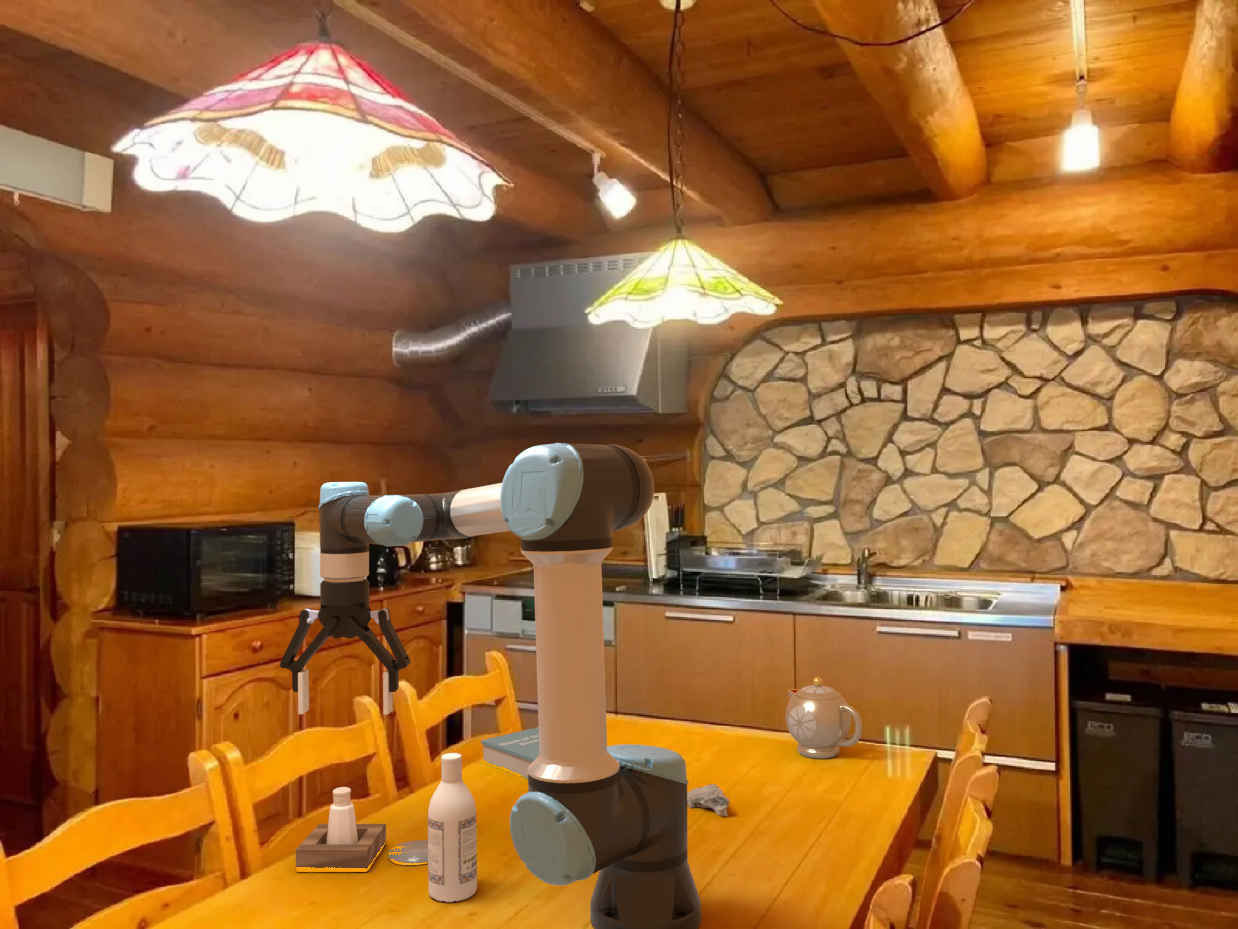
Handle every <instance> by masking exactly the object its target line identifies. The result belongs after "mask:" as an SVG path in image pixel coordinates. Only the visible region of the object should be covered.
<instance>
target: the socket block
mask: <svg viewBox="0 0 1238 929" xmlns="http://www.w3.org/2000/svg"><path fill="white" fill-rule="evenodd" d="M356 828H357V837H358V843H357V844H327V834H328V823H318V824H317V826H316V827H315V828H314V829H313V830H312V831H311V832H310V833H309V834H308V835H307V837H306V838H305V839H304V840H303V841H302V842H301V844H299V846H298V847H297V848H296V849H295V868H296V867H311V868H312V867H313V868H314V867H315V868H325V867H328V868H329V867H330V868H331V867H333V868H334V867H335V868H339V867H340V868H366V869H367V868H368V866H369V865H370V864H371V863H372V861H373V859H374V858H375V857H376V855H377V853H378V852H379V851H380V849H381V847H382V846H383V845H384V843H385V841H386V842H387V824H386V823H356Z"/></svg>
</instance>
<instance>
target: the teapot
mask: <svg viewBox="0 0 1238 929" xmlns="http://www.w3.org/2000/svg"><path fill="white" fill-rule="evenodd" d="M823 682H824V681H823V678H821V677H820V676H814V677H813V679H812V683H813V684H810V685H806V686H804V687H802V688H799V689H796V688H792V689H791V688H789V689H787V694H788V697H789V701H788V702H787V704H786V705H787V706H786V709H785V723H786V727H787V730H788V732H789V733H790V736H791V737H792V738H793V739H794V740H795V741H796V742H797V744H798V745H797V747H796V749H797V752H798V753H799V754H800V755H802V756H803V757H807V758H810V759H818V760H819V759H820V760H823V759H831V758H835V757H837V756H838V755H839V754H840V752H841V750H840V749H841V748H840V747H842V748H850V747H853V746H855V745H856V744H857V743H858V742H859V740H860V738H861V737H862V733H863V722H862V717H861V716H860V714H859V712H858V711H857V709H856V708H854V707H853V706H851V705H849V704H848V702H847V701H846V699H845V698H844V696H842V695H841V693H840V692H838V691H837V690H835V689H834V688H832V687H830V686H827V685H823ZM852 718H853V720H854V726H855V727H854V733H853V734H852V736H851V737H850V738H847V739H846V737H847V735H849V734H848V733H849V731H850V727H851V722H852Z"/></svg>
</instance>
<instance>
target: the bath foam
mask: <svg viewBox="0 0 1238 929" xmlns="http://www.w3.org/2000/svg"><path fill="white" fill-rule="evenodd" d="M462 756H463V755H462V754H460V753H458V752H449V753H445V754H442V755H441V758H440V760H441V761H440V762H441V765H440V766H441V768H440V769H441V781H440V782H439V784H438V785H437V787H436V789H435V791H434V792H433V794H432V796H431V798H430V802H429V805H428V809H427V811H428V812H427V840H428V864H427V866H428V867H427V868H428V870H427V871H428V872H427V873H428V876H427V878H428V894H429V896H430V897H431V898H432V899H433V898H434V899H433V900H435V899H436V900H435V901H437V902H438V901H439V902H442V901H445V902H444V903H454V901H456V902H460V901H464V900H467V899H469V898H471V897H472V896H474V894H475V893H476V891H477V889H478V879H477V878H478V864H477V863H478V860H477V859H478V858H477V857H478V854H477V850H478V847H477V846H478V844H477V842H478V841H477V836H478V835H477V809H476V801H475V798H474V796H473V794H472V793H471V791H470V789H469V788H468V786H467V785H466V784H465V782H464V781H463V779H462V778H463V777H462V776H463V773H462V772H463V765H462V764H463V762H462V761H463V760H462V759H463V757H462Z"/></svg>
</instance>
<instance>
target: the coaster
mask: <svg viewBox="0 0 1238 929" xmlns="http://www.w3.org/2000/svg"><path fill="white" fill-rule="evenodd" d="M395 846H404V847H403V848H402V847H401V850H400V849H399V848H398V850H397V848H395V850H396V851H395V850H394V849H393V850H391V848H390V849H389V850H390V851H389V850H388V852H402V854H401V853H399V854H400V855H399V854H398V853H396V854H397V855H395V853H394V855H393V854H392V853H391V855H388V854H389V853H388V852H387V857H388V856H389V858H390V859H394V860H395V861H398V862H403V863H412V864H413V863H423V862H424V863H425V862H428V839H427V840H425V839H421V840H419V839H417V840H410V841H405V842H402V843H399V844H396V845H395ZM405 846H406V848H405ZM408 846H409V847H408ZM406 852H407V853H406Z"/></svg>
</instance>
